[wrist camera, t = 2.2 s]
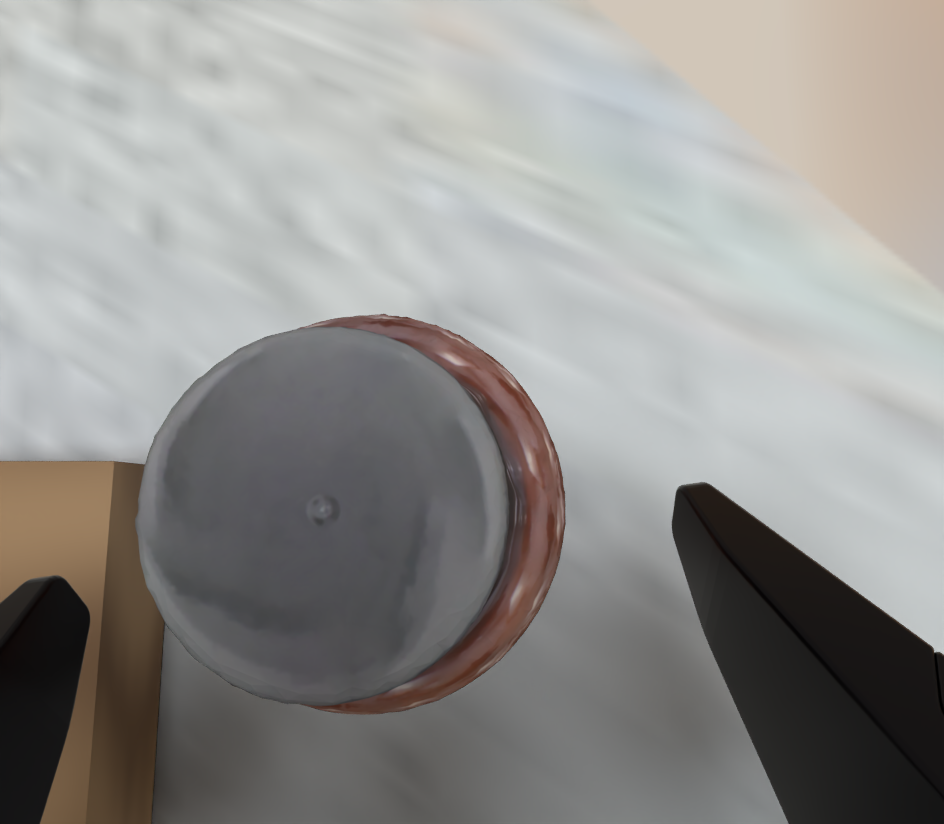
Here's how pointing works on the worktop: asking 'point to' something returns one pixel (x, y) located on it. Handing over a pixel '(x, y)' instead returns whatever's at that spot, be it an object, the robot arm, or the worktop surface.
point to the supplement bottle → (352, 515)
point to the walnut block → (93, 627)
